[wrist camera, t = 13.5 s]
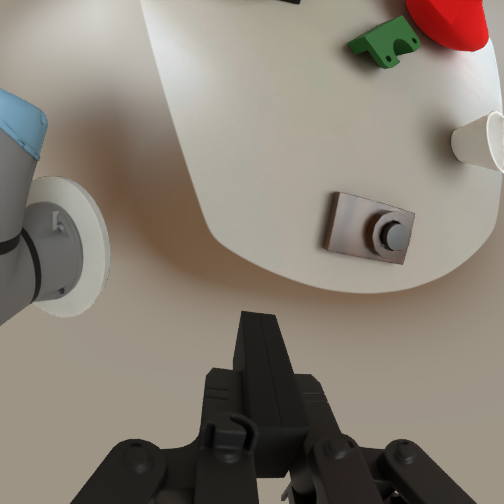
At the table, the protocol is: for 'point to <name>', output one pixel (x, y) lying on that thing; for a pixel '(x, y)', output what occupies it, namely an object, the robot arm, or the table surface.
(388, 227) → the button
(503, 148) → the cup
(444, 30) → the vase
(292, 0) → the black bracket
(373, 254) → the button block
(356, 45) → the clamp
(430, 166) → the table surface
